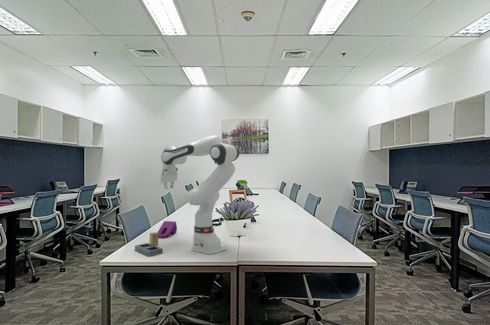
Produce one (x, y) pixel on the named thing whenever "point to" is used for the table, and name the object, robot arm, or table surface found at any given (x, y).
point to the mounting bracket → (167, 229)
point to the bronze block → (154, 238)
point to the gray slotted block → (148, 249)
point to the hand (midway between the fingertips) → (168, 188)
